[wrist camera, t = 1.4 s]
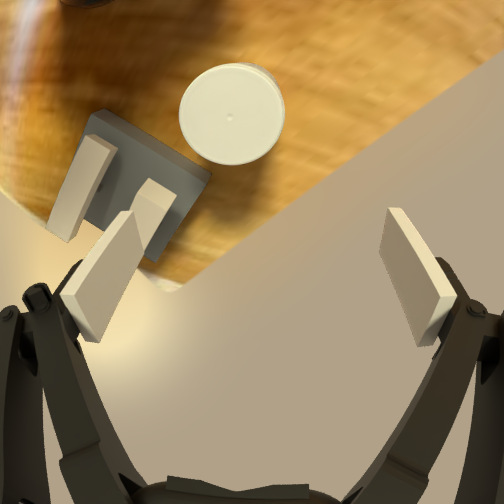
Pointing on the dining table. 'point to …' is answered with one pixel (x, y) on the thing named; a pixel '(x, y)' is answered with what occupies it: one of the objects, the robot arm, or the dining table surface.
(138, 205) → the switch right
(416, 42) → the dining table surface
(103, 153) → the switch left
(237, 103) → the supplement tub
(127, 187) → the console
